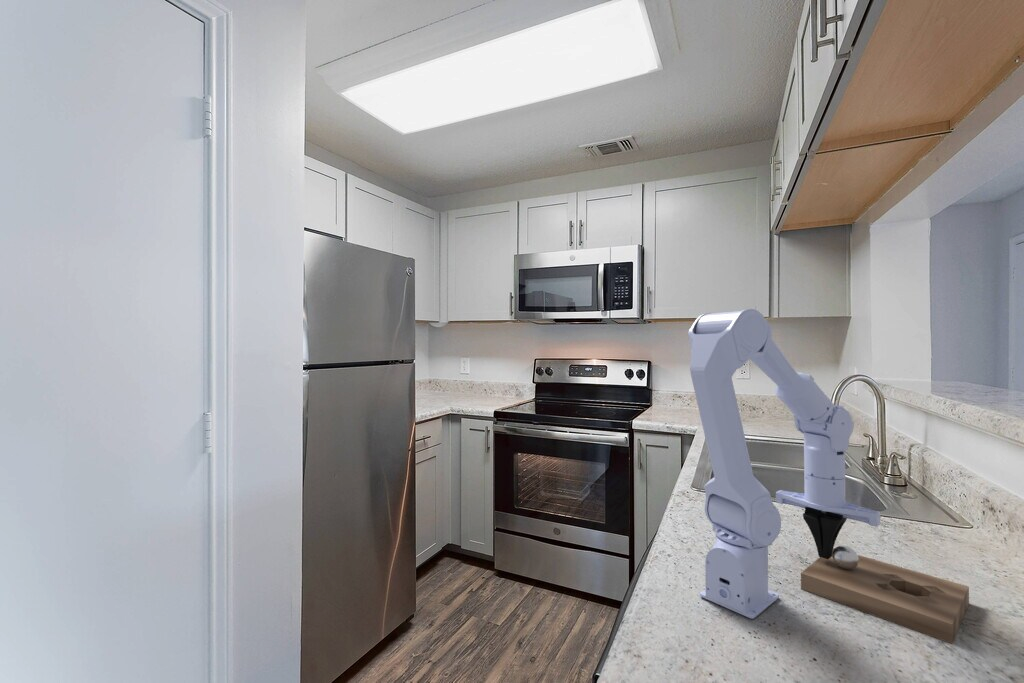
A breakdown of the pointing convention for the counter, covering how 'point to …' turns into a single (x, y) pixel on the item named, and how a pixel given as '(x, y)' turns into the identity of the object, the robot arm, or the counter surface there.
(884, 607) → the walnut plate
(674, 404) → the counter surface
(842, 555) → the steel ball
